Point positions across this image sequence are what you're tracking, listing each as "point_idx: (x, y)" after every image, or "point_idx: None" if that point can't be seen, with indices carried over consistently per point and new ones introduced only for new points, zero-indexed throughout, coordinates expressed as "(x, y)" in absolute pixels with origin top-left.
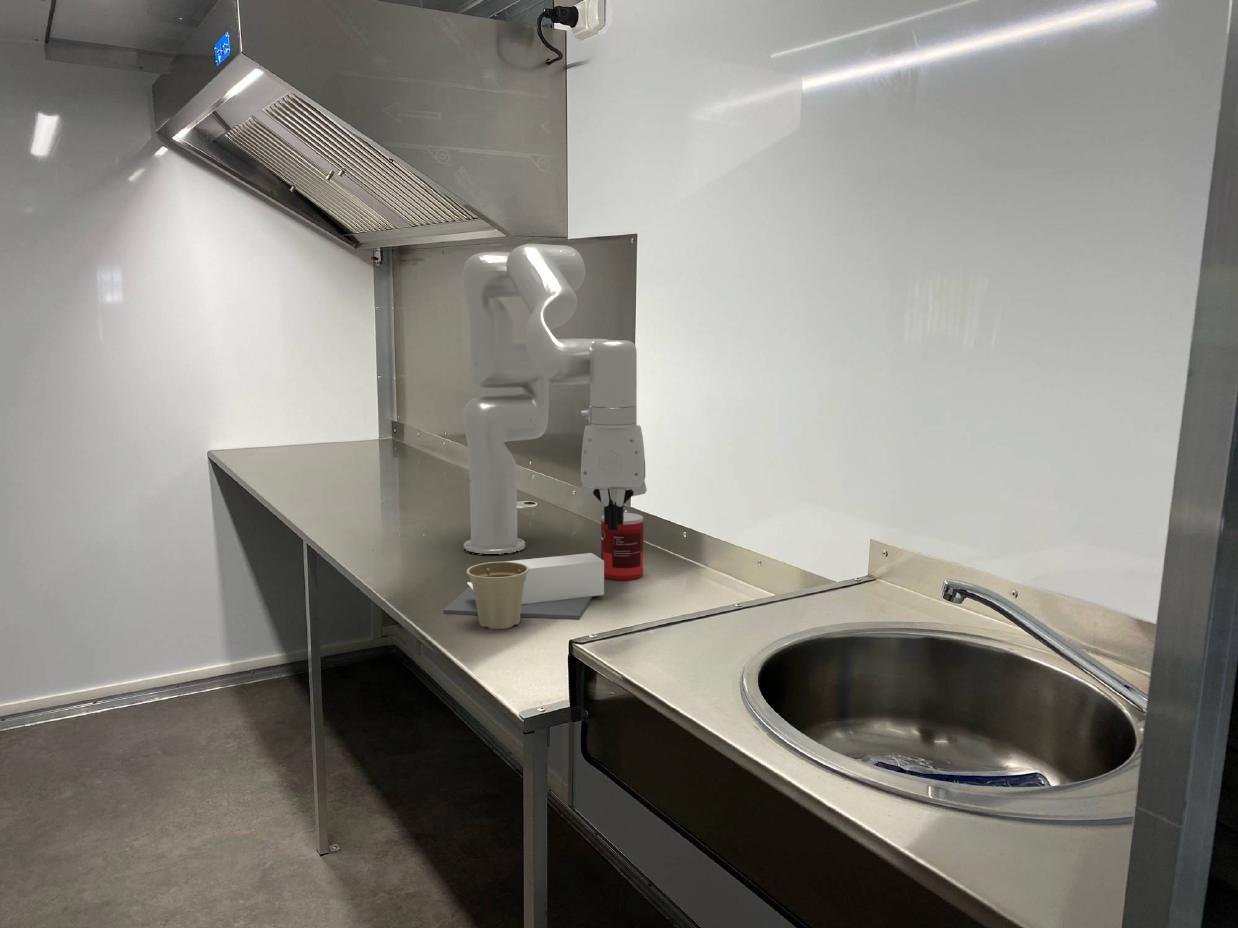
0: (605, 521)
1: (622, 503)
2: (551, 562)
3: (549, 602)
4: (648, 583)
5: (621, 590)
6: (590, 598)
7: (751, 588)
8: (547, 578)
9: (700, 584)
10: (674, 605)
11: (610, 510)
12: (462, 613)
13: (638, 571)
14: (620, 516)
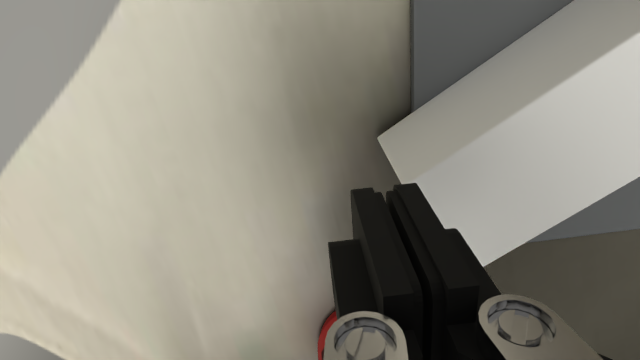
0: (449, 233)
1: (337, 350)
2: (618, 104)
3: (539, 11)
4: (286, 292)
5: (342, 219)
6: (413, 103)
7: (6, 319)
8: (599, 26)
9: (150, 316)
10: (145, 121)
11: (437, 266)
12: None
13: (324, 334)
14: (345, 272)
